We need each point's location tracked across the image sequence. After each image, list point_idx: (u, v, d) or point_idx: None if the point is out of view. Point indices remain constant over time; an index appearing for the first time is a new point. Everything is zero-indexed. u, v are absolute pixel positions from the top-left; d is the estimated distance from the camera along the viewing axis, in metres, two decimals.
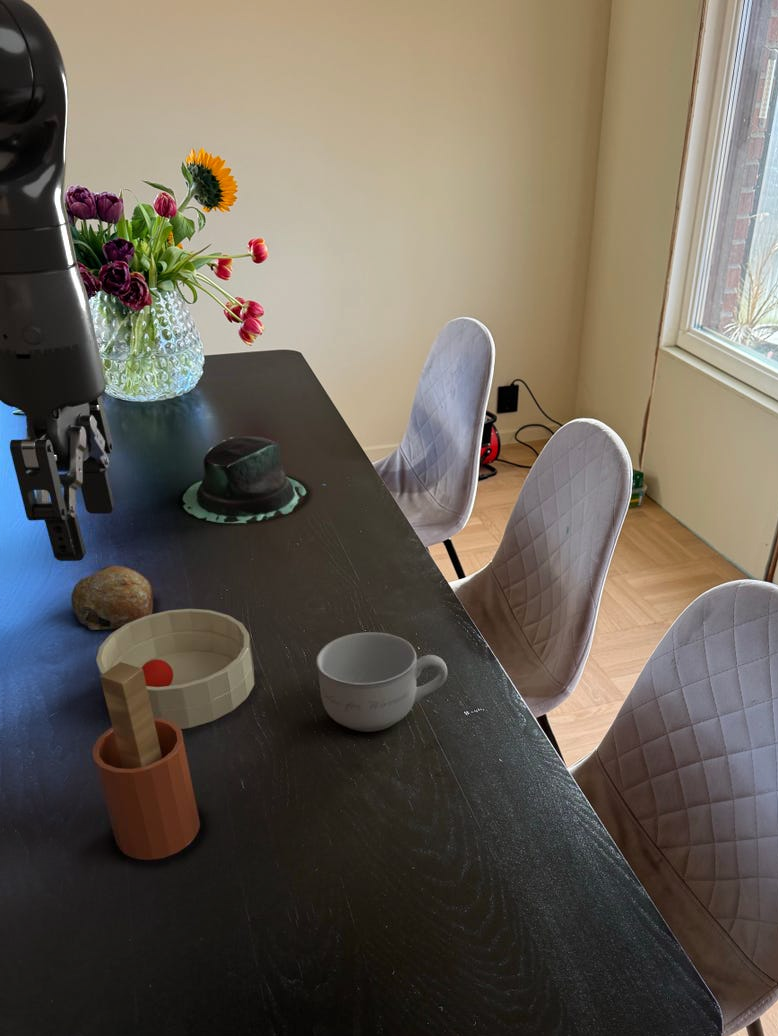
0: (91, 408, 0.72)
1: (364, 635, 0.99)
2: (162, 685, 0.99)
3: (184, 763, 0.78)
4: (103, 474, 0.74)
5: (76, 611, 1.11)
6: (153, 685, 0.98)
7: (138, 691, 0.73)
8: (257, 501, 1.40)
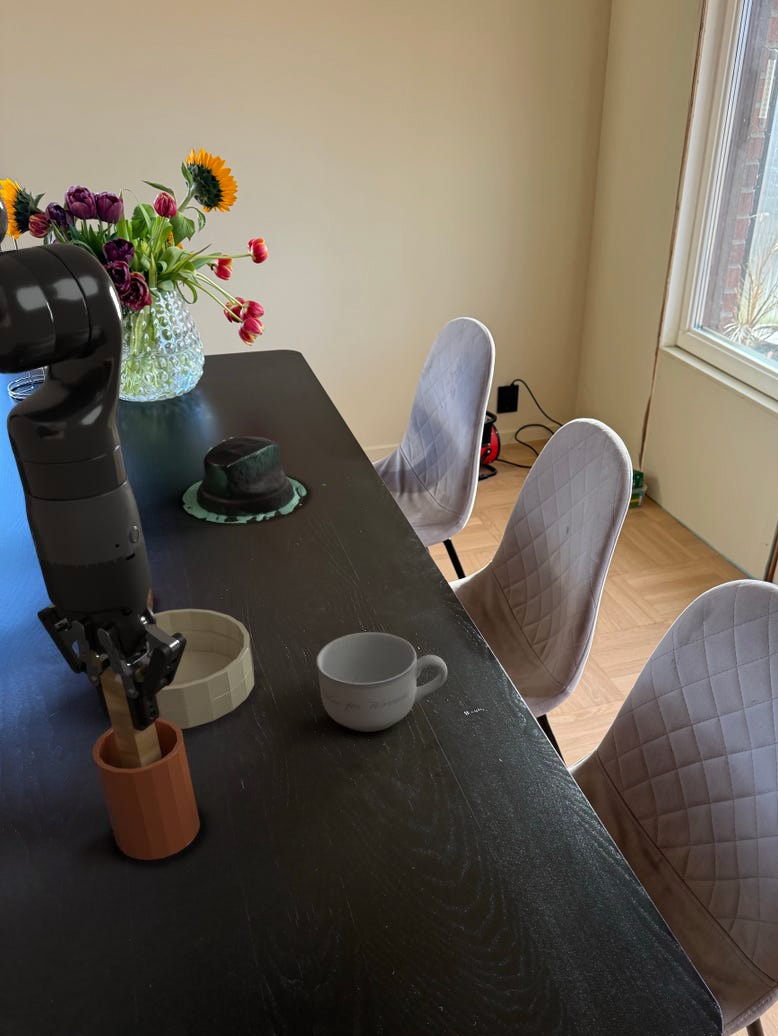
0: None
1: (364, 635, 0.99)
2: None
3: (184, 763, 0.78)
4: None
5: None
6: None
7: None
8: (257, 501, 1.40)
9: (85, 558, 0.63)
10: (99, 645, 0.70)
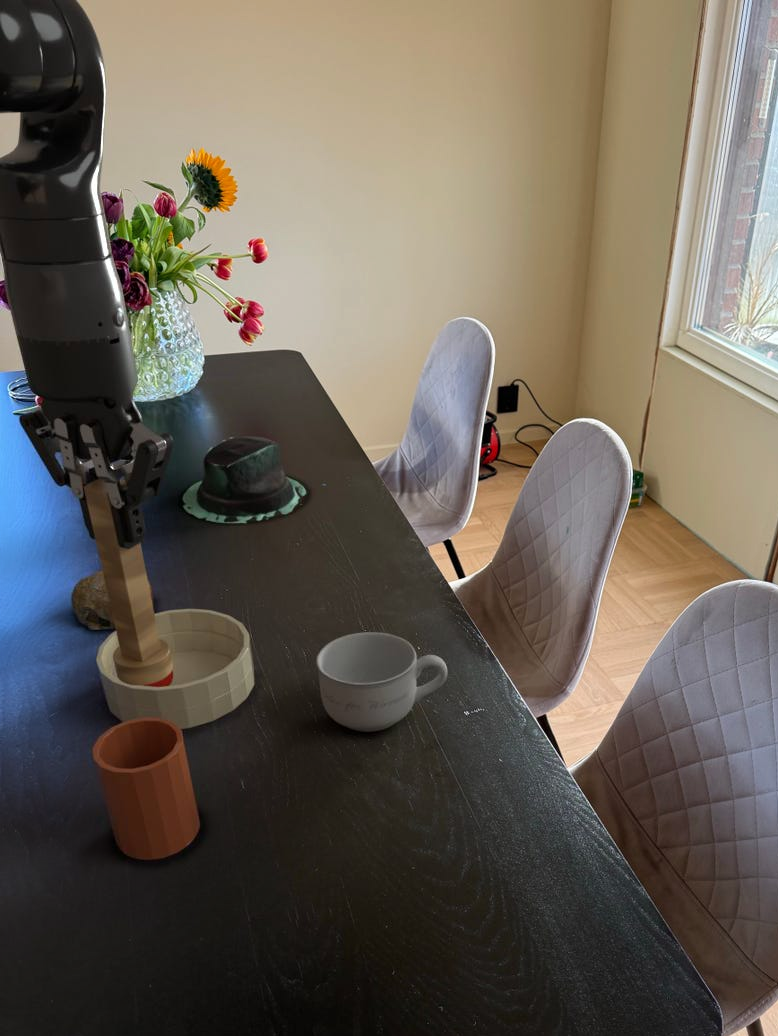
0: None
1: (364, 635, 0.99)
2: (162, 685, 0.99)
3: (184, 763, 0.78)
4: None
5: (76, 611, 1.11)
6: (153, 685, 0.98)
7: None
8: (257, 501, 1.40)
9: (66, 334, 0.60)
10: (83, 448, 0.67)
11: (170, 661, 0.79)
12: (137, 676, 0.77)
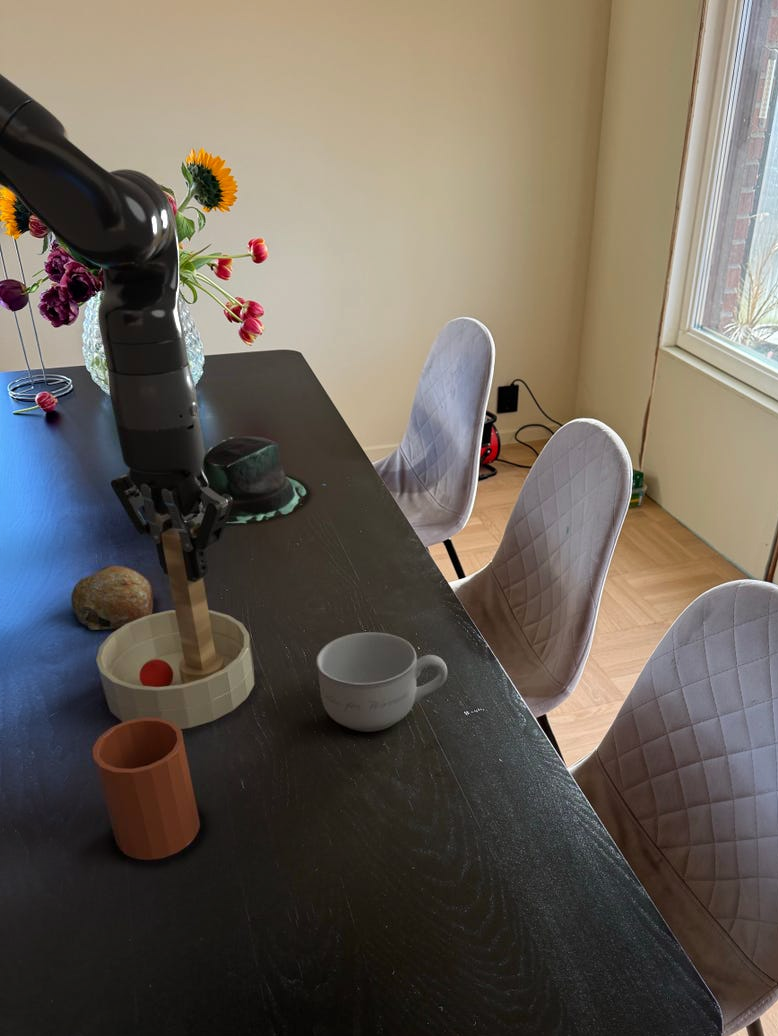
0: None
1: (364, 635, 0.99)
2: (162, 685, 0.99)
3: (184, 763, 0.78)
4: None
5: (76, 611, 1.11)
6: (153, 685, 0.98)
7: None
8: (257, 501, 1.40)
9: (156, 424, 0.79)
10: (162, 506, 0.87)
11: None
12: None
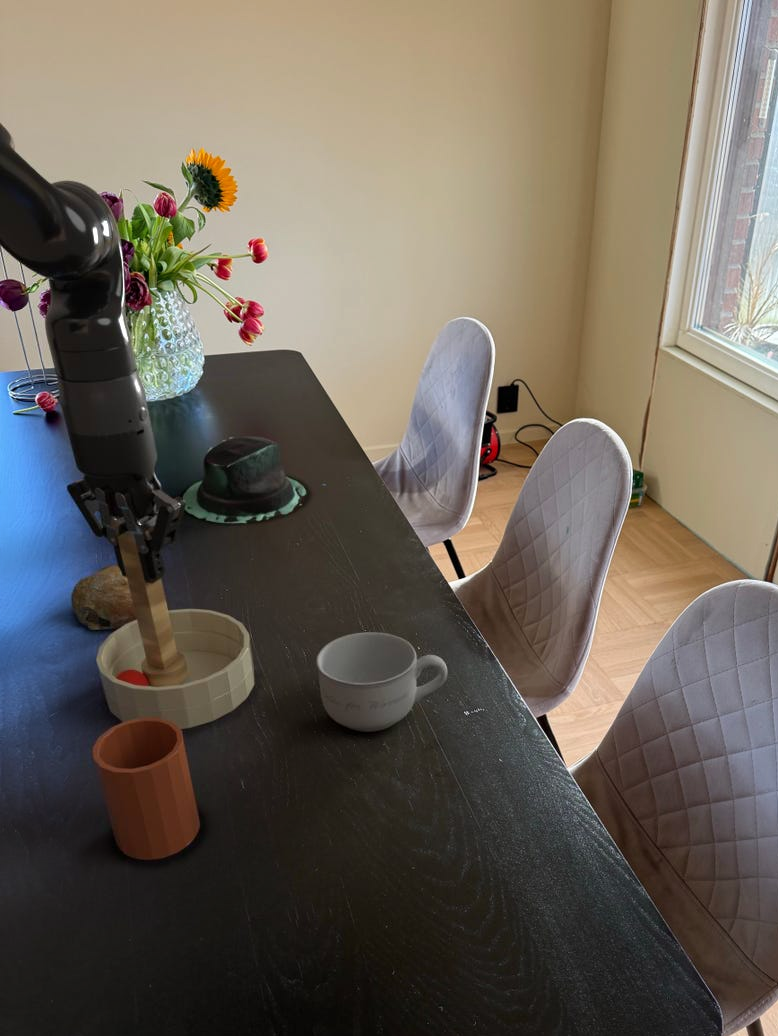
0: None
1: (364, 635, 0.99)
2: None
3: (184, 763, 0.78)
4: None
5: (76, 611, 1.11)
6: None
7: None
8: (257, 501, 1.40)
9: (105, 430, 0.81)
10: (116, 509, 0.89)
11: (186, 668, 1.01)
12: (161, 681, 0.98)
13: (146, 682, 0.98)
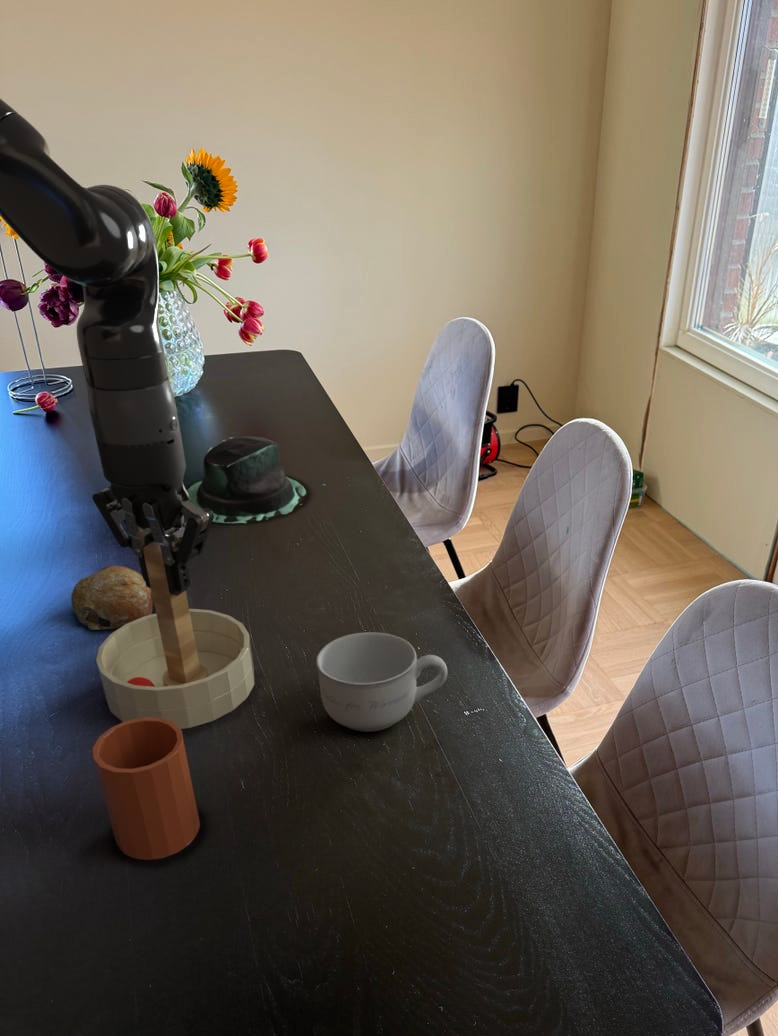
0: None
1: (364, 635, 0.99)
2: None
3: (184, 763, 0.78)
4: None
5: (76, 611, 1.11)
6: None
7: None
8: (257, 501, 1.40)
9: (135, 439, 0.79)
10: (143, 520, 0.87)
11: None
12: None
13: None
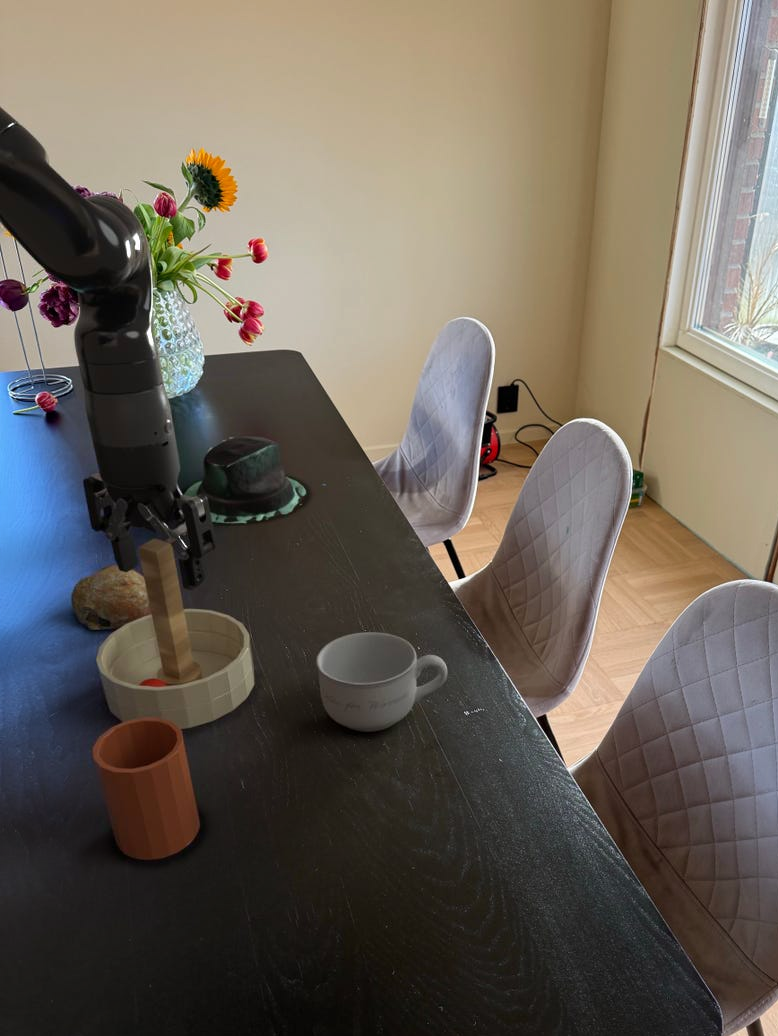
0: None
1: (364, 635, 0.99)
2: None
3: (184, 763, 0.78)
4: (131, 536, 0.94)
5: (76, 611, 1.11)
6: None
7: (168, 561, 0.92)
8: (257, 501, 1.40)
9: (131, 441, 0.82)
10: (138, 520, 0.89)
11: (201, 678, 1.01)
12: None
13: None
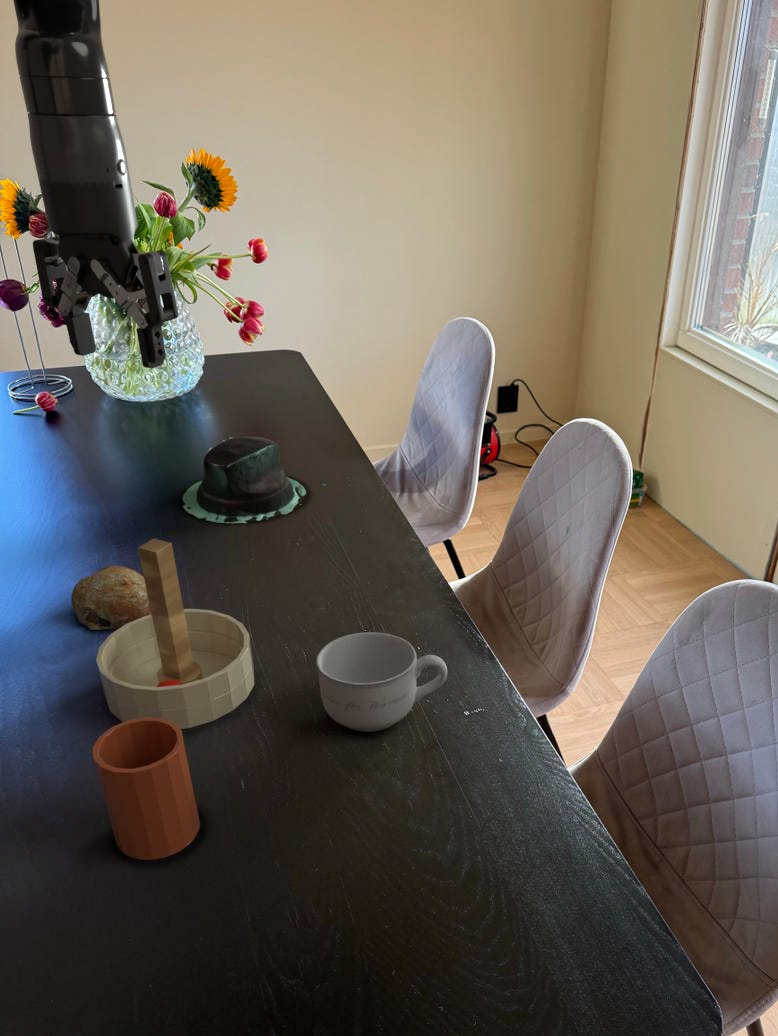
0: None
1: (364, 635, 0.99)
2: None
3: (184, 763, 0.78)
4: (87, 315, 0.86)
5: (76, 611, 1.11)
6: None
7: (168, 561, 0.92)
8: (257, 501, 1.40)
9: (80, 176, 0.74)
10: (92, 285, 0.82)
11: (201, 678, 1.01)
12: None
13: None
